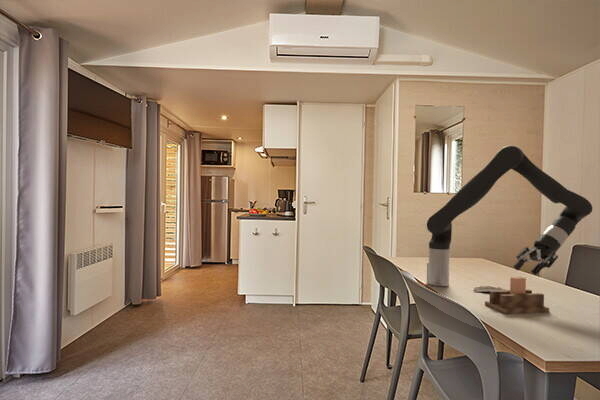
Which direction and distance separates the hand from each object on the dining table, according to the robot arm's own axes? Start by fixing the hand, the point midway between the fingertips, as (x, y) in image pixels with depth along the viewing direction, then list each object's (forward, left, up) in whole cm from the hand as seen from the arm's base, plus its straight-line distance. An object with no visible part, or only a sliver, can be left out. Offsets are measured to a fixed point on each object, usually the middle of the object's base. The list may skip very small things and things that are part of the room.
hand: (524, 270), depth 139 cm
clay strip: (-1, -2, -13) cm, 13 cm away
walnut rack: (-1, -3, -14) cm, 14 cm away
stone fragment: (-17, +14, -15) cm, 27 cm away
